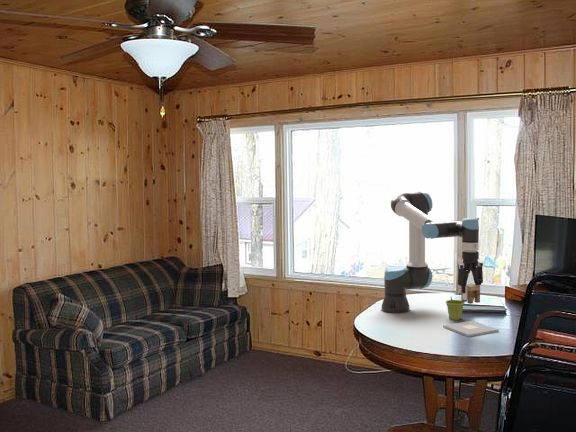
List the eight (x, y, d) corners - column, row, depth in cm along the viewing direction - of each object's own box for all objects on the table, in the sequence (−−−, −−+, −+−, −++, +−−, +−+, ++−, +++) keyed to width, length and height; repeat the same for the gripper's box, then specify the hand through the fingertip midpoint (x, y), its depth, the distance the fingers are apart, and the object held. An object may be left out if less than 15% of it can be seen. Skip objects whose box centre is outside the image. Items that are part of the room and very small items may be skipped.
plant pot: (465, 321, 288) (465, 304, 288) (446, 320, 290) (446, 303, 290) (463, 316, 298) (463, 300, 297) (445, 315, 299) (445, 299, 299)
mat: (442, 327, 278) (442, 325, 278) (471, 322, 286) (471, 320, 286) (468, 336, 262) (468, 334, 262) (498, 331, 269) (498, 329, 269)
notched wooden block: (461, 301, 274) (461, 284, 273) (471, 299, 276) (471, 283, 276) (470, 303, 269) (470, 286, 268) (480, 302, 271) (480, 285, 270)
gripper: (459, 253, 263) (460, 302, 265) (491, 250, 271) (491, 298, 273) (449, 251, 270) (449, 299, 272) (480, 248, 278) (480, 295, 280)
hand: (470, 298), depth 273 cm, fingers closed on notched wooden block, 6 cm apart
